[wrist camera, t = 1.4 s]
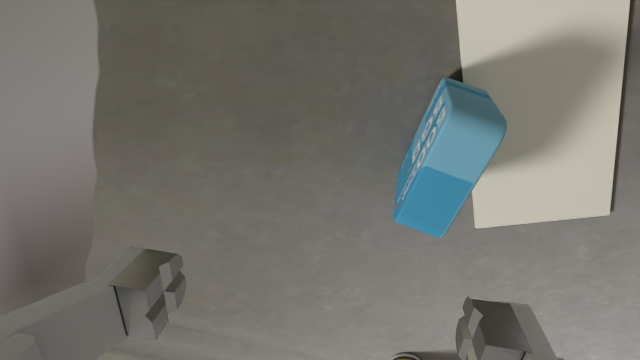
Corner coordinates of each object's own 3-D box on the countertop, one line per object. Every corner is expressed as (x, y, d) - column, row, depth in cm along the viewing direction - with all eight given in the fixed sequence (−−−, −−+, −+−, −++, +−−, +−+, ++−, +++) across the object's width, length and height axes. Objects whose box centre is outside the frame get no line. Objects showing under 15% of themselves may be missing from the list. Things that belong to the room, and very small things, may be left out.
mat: (631, -50, 30) (634, -51, 29) (607, 212, 40) (609, 215, 40) (455, -3, 34) (456, -3, 33) (475, 226, 44) (475, 228, 44)
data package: (443, 73, 36) (453, 105, 26) (485, 88, 36) (512, 126, 26) (398, 170, 43) (391, 227, 32) (434, 184, 42) (439, 246, 32)
